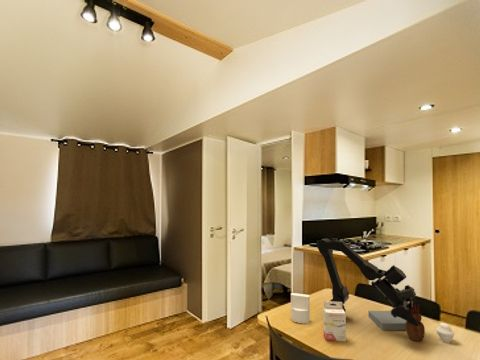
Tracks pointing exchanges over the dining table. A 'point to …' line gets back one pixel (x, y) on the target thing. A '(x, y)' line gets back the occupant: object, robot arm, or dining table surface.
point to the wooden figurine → (413, 330)
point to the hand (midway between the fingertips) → (418, 323)
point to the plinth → (387, 320)
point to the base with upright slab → (300, 308)
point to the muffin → (445, 332)
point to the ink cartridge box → (334, 321)
